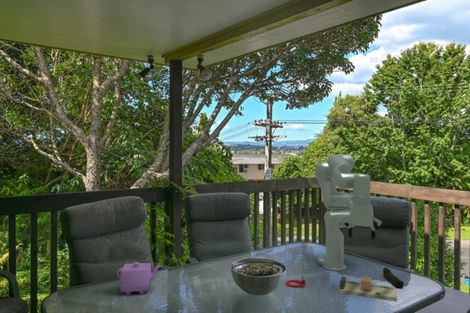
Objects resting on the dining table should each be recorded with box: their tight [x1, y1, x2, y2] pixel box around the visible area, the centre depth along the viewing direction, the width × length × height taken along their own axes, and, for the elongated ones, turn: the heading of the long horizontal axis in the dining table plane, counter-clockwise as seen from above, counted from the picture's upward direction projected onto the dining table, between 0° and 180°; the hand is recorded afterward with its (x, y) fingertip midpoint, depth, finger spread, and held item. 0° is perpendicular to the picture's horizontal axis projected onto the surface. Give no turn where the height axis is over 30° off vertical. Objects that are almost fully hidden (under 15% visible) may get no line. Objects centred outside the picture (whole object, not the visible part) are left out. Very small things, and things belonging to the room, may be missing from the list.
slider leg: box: [360, 275, 372, 291], centre depth 161 cm, size 4×7×4 cm, turn 157°
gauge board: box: [337, 276, 398, 302], centre depth 161 cm, size 24×12×4 cm, turn 67°
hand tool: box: [382, 267, 405, 290], centre depth 175 cm, size 19×4×5 cm, turn 176°
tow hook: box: [285, 257, 307, 288], centre depth 170 cm, size 8×13×9 cm
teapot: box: [116, 261, 163, 295], centre depth 161 cm, size 20×10×12 cm, turn 97°
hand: (361, 238), depth 164 cm, fingers open, 9 cm apart
